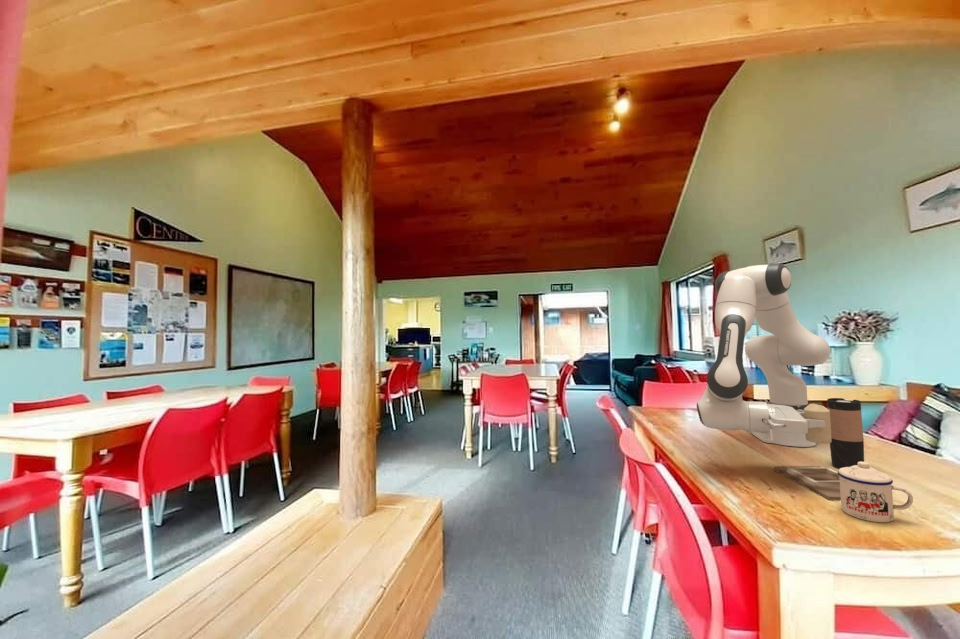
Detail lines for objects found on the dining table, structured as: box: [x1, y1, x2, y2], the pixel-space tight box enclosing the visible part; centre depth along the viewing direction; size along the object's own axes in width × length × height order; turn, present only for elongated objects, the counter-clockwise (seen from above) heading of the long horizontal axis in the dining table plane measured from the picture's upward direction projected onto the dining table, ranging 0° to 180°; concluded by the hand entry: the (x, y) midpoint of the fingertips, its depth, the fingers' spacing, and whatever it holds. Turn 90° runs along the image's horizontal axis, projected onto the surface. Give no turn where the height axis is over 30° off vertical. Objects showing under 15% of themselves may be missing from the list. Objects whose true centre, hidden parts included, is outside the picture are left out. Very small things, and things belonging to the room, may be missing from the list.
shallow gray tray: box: [772, 465, 841, 501], centre depth 109 cm, size 22×13×2 cm, turn 174°
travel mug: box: [826, 397, 865, 470], centre depth 120 cm, size 8×8×20 cm
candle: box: [804, 403, 832, 444], centre depth 111 cm, size 6×6×10 cm
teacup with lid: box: [837, 461, 914, 523], centre depth 91 cm, size 12×9×12 cm
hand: (821, 420), depth 110 cm, fingers closed on candle, 5 cm apart
